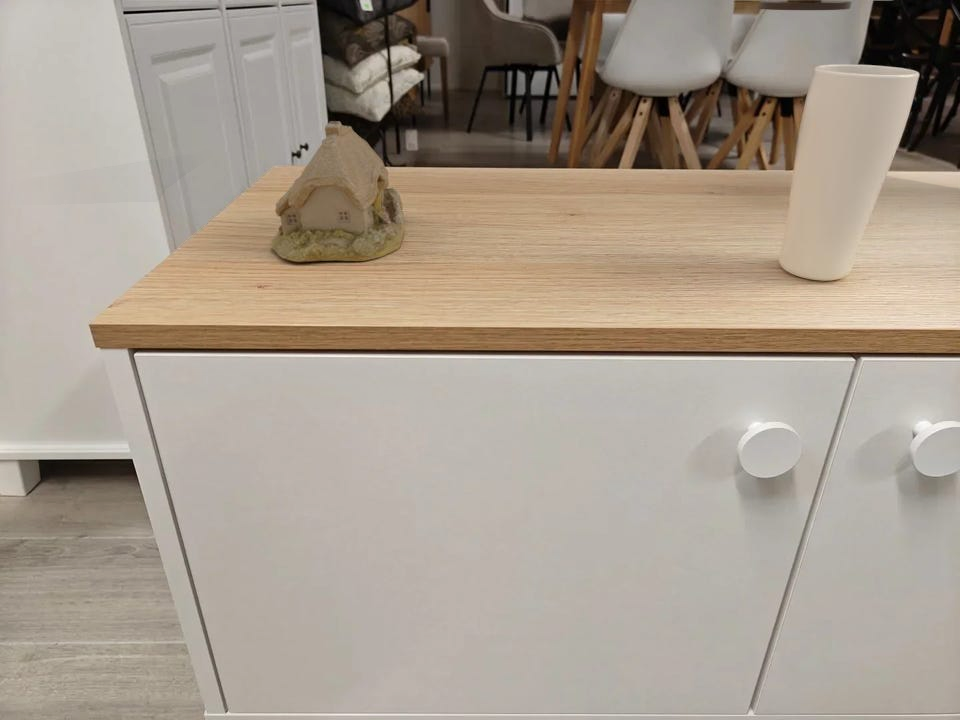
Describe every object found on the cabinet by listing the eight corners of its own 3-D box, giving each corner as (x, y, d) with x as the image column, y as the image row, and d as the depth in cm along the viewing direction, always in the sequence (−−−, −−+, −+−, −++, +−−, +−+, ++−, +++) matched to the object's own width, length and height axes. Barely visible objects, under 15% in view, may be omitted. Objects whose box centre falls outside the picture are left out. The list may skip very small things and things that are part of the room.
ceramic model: (389, 268, 54) (381, 140, 49) (255, 263, 55) (234, 137, 50) (419, 215, 67) (415, 109, 62) (309, 211, 67) (296, 106, 63)
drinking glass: (804, 291, 51) (861, 76, 43) (750, 259, 56) (792, 65, 49) (879, 282, 52) (946, 73, 45) (818, 252, 58) (869, 63, 50)
